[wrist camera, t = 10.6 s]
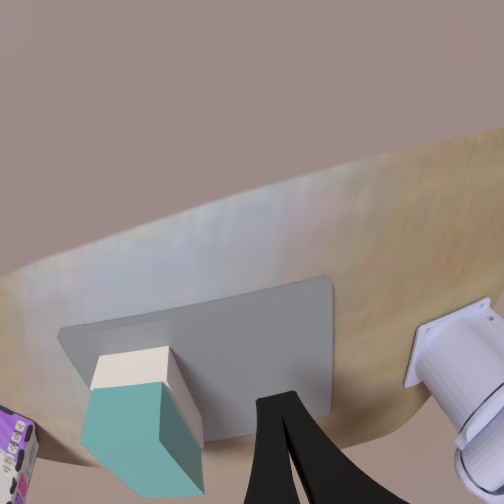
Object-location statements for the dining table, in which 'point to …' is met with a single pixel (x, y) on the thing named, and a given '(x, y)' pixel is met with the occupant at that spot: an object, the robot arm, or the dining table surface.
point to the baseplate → (218, 355)
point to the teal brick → (143, 440)
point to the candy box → (16, 456)
